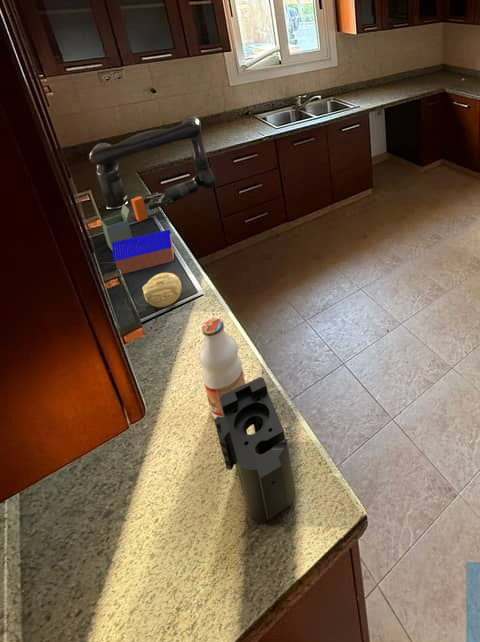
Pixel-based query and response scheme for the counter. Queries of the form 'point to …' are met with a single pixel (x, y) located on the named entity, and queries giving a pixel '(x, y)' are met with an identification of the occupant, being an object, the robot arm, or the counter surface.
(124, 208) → the flap
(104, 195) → the robot arm
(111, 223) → the chute
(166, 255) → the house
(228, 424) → the black machined bracket
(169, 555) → the counter surface
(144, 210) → the packet
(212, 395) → the fruit juice
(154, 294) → the tan round lump
